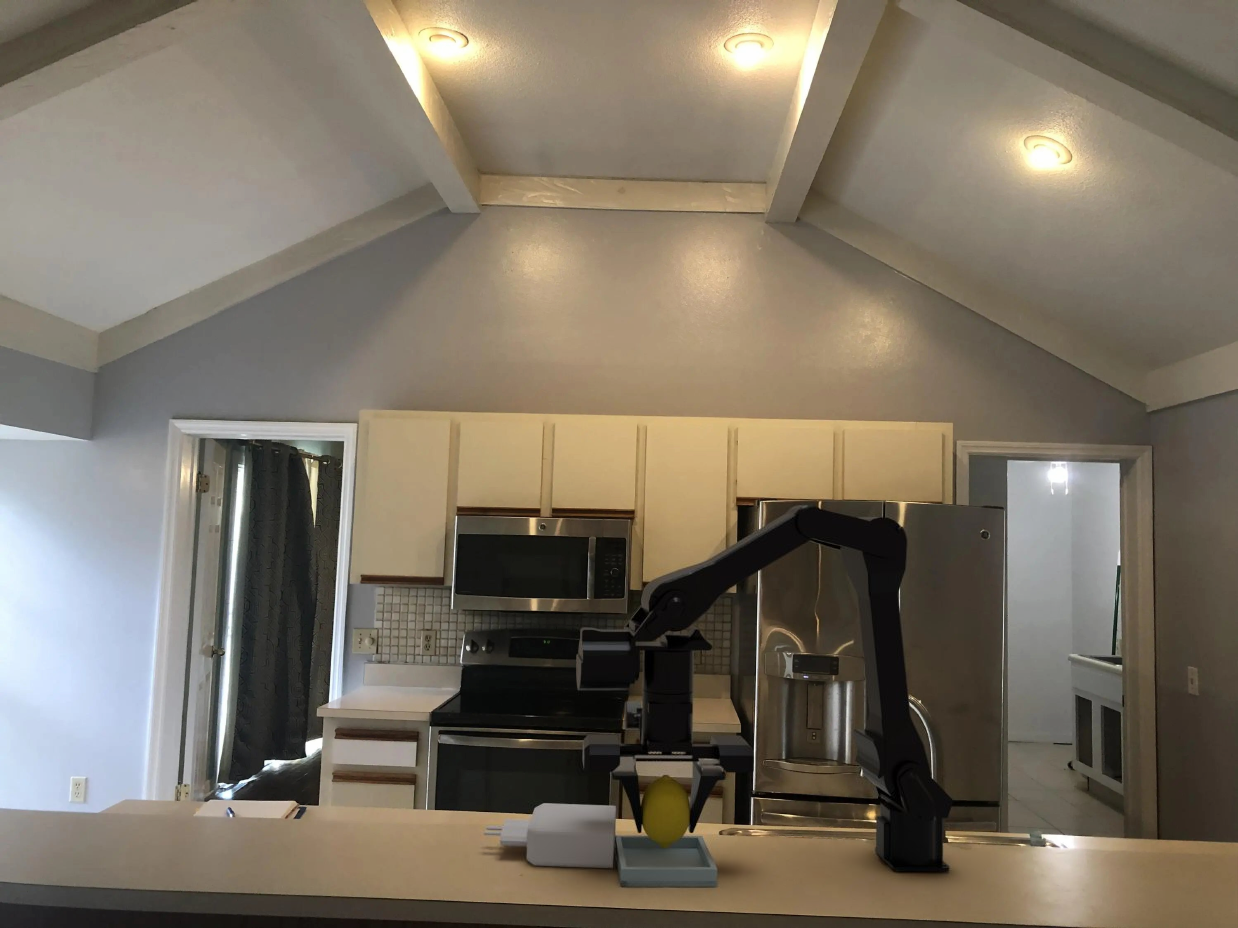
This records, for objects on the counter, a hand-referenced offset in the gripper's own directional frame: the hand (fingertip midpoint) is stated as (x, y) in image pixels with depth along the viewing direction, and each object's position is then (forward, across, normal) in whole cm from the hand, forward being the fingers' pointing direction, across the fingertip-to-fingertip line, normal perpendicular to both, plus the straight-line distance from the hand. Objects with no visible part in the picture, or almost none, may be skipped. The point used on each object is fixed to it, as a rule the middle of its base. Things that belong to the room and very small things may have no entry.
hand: (665, 831), depth 100 cm
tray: (+4, 0, 0) cm, 4 cm away
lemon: (+2, 0, 0) cm, 2 cm away
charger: (+4, +13, -5) cm, 14 cm away
